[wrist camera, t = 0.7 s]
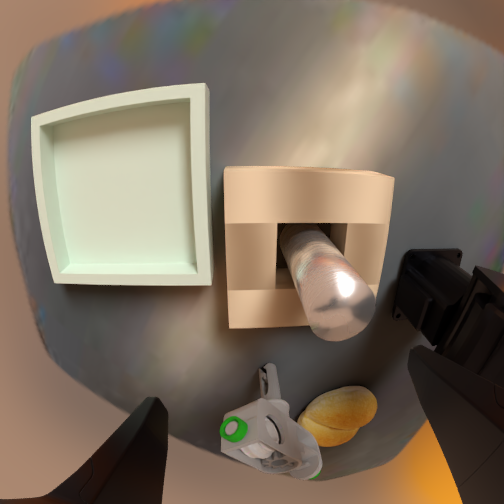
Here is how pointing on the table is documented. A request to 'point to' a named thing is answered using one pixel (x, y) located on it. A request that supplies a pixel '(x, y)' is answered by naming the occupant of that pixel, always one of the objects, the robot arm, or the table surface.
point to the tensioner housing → (297, 211)
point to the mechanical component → (270, 434)
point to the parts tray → (127, 188)
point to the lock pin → (326, 283)
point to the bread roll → (338, 414)
